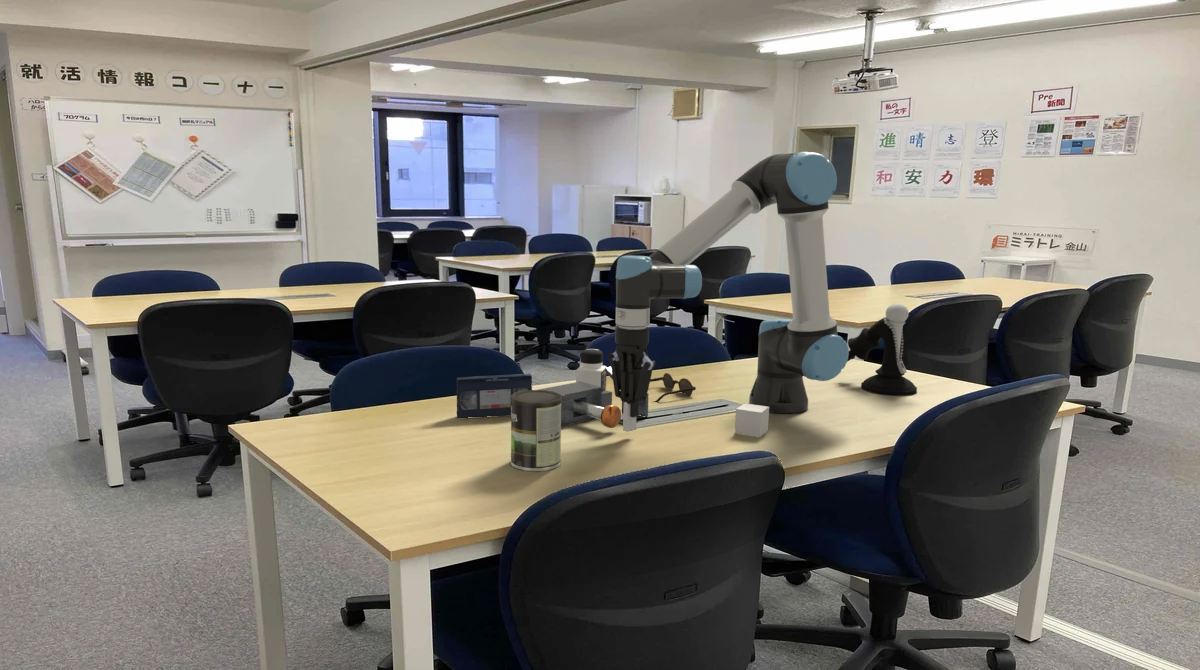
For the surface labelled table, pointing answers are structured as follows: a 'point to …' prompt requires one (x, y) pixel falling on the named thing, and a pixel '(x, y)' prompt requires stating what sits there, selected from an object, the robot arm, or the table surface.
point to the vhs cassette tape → (489, 394)
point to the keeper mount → (607, 400)
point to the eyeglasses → (669, 383)
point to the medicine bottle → (592, 368)
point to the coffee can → (536, 430)
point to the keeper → (609, 371)
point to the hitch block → (579, 393)
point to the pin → (599, 412)
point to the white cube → (751, 420)
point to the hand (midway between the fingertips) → (629, 429)
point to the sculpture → (885, 353)
